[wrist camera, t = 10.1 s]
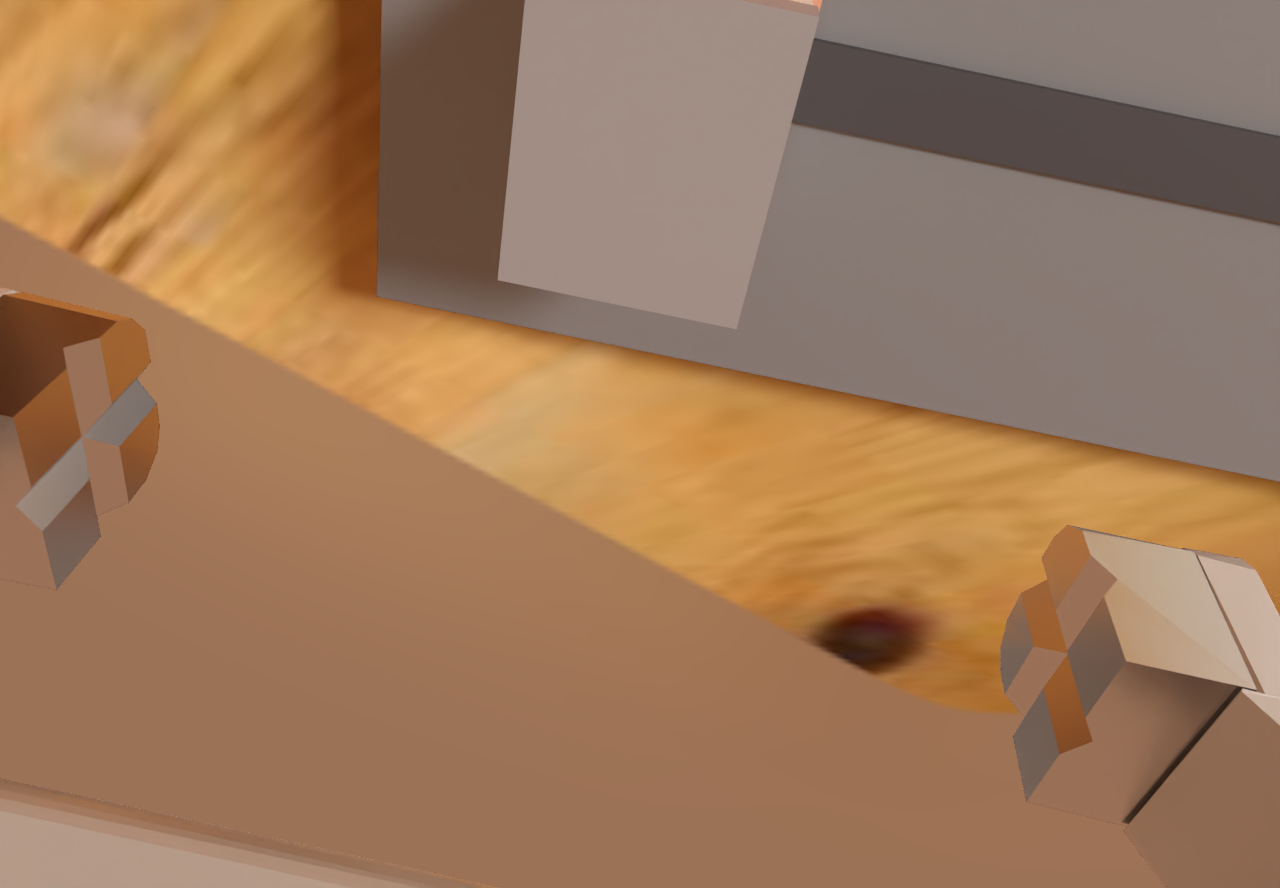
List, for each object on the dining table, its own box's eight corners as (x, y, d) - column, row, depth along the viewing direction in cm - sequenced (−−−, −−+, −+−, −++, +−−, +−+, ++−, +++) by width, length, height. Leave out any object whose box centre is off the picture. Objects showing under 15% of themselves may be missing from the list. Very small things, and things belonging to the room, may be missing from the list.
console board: (1951, -129, 19) (2107, -103, 16) (1452, 466, 27) (1512, 534, 25) (432, -458, 18) (385, -478, 16) (406, 250, 27) (373, 301, 24)
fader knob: (809, -61, 19) (819, 16, 14) (744, 200, 22) (736, 329, 17) (587, -108, 18) (529, -45, 14) (553, 161, 22) (497, 280, 17)
